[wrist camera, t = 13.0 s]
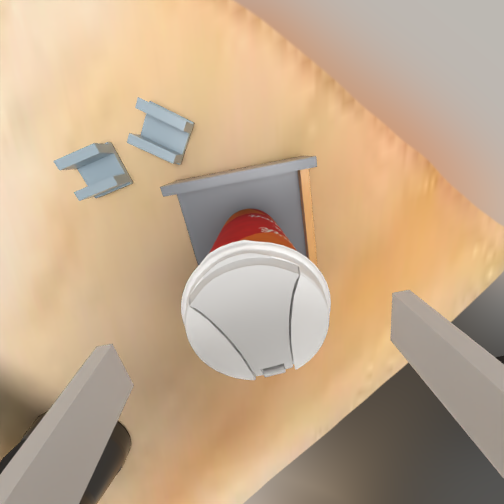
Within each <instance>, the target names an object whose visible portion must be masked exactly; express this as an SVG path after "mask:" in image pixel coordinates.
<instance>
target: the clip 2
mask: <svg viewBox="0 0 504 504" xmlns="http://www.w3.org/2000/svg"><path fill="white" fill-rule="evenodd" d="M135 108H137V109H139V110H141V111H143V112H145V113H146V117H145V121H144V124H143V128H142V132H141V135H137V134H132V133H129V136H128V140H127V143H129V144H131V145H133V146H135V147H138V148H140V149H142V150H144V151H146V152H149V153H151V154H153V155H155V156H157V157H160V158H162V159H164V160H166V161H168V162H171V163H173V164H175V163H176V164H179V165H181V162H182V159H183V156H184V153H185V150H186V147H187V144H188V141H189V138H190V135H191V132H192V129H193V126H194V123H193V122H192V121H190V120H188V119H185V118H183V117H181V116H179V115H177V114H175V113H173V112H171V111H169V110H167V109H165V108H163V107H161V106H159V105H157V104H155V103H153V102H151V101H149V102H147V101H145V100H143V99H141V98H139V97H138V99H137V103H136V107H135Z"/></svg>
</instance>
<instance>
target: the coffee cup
mask: <svg viewBox="0 0 504 504" xmlns="http://www.w3.org/2000/svg"><path fill="white" fill-rule="evenodd" d="M330 306H331V300H330V292H329V289H328V285H327V282H326V280H325V279H324V277H323V275H322V273H321V272H320V270H319V269H318V268H317V267H316V265H315V264H314V263H313V262H311V261H310V260H309V259H308V258H307V257H306V256H304V255H302V254H301V253H299V252H298V251H297V250H296V249H295V247H294V246H293V245H292V243H291V242H290V241H289V239H288V238H287V236H286V235H285V234H284V233H283V231H282V230H281V229H280V227H279V226H278V225H277V223H276V222H275V221H274V220H273V219H272V218H271V217H270V216H269V215H268V214H267V213H265V212H263V211H261V210H258V209H244V210H240V211H238V212H236V213H235V214H233V215H232V216H231V217H230V218H229V219H228V220H227V222H226V223H225V225H224V226H223V228H222V230H221V232H220V234H219V235H218V237H217V239H216V241H215V243H214V245H213V247H212V249H211V251H210V253H209V254H208V255H207V256H206V257H205V259H204V260H203V261H202V262H201V263H200V265H199V266H198V267H197V268H196V269H195V270H194V272H193V273H192V274H191V276H190V278H189V279H188V281H187V283H186V286H185V288H184V291H183V295H182V301H181V314H182V318H183V323H184V325H185V329H186V334H187V338H188V340H189V342H190V345H191V347H192V348H193V350H194V351H195V353H196V354H197V355H198V356H199V358H200V359H201V360H202V361H203V362H205V363H206V364H207V365H208V366H209V367H211V368H213V369H214V370H216V371H218V372H220V373H222V374H225V375H227V376H231V377H234V378H238V379H245V380H255V379H256V376H260V375H264V377H269V376H272V375H276V374H280V373H284V372H286V371H285V369H288V368H292V367H293V364H294V365H295V369H298V368H300V367H301V366H303V365H304V364H305V363H307V362H308V361H309V360H310V359H311V358H312V357H313V356H314V355H315V354H316V353H317V352H318V350H319V349H320V347H321V346H322V344H323V342H324V339H325V337H326V335H327V331H328V327H329V314H330Z"/></svg>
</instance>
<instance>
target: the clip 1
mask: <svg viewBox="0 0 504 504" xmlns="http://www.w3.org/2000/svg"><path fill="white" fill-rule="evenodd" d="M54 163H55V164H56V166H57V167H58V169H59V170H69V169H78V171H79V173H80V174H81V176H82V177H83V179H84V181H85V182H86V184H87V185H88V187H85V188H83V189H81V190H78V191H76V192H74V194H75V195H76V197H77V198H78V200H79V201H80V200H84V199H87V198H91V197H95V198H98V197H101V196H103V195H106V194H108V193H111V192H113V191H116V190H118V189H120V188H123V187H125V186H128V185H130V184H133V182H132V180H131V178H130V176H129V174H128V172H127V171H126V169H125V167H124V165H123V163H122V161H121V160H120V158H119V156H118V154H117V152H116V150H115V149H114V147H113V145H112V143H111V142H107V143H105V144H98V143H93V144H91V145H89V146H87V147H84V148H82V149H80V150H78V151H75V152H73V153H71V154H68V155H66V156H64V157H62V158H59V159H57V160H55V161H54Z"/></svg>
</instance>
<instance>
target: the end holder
mask: <svg viewBox="0 0 504 504" xmlns="http://www.w3.org/2000/svg"><path fill="white" fill-rule="evenodd" d="M313 167H317V161H316V156H300V157H295V158H290V159H284V160H279V161H274V162H269V163H264V164H259V165H254V166H249V167H244V168H239V169H234V170H229V171H224V172H219V173H214V174H209V175H203V176H198V177H193V178H188V179H183V180H178V181H174V182H172V183H169V184H167V185H164V186H162V187H160V188H161V191H162V194H163V197H164V196H169V195H175V194H177V196H178V200H179V203H180V206H181V210H182V213H183V216H184V220H185V223H186V226H187V230H188V233H189V236H190V240H191V243H192V246H193V250H194V253H195V256H196V260H197V263H198V266H199V265H200V263H201V262H202V261H203V260H204V259H205V257H206V256H207V255H208V254H209V253H210V251H211V249H212V247H213V245H214V243H215V241H216V239H217V237H218V235H219V234H220V232H221V230H222V228H223V226H224V225H225V223H226V222H227V220H228V219H229V218H230V217H231V216H232V215H233V214H235V213H236V212H238V211H240V210H244V209H258V210H261V211H263V212H265V213H267V214H268V215H269V216H270V217H271V218H272V219H273V220H274V221H275V222H276V223H277V225H278V226H279V227H280V229H281V230H282V231H283V233H284V234H285V235H286V236H287V238H288V239H289V241H290V242H291V243H292V245H293V246H294V247H295V249H296V250H297V251H298V252H299V253H301V254H302V255H304V256H306V257H307V258H308V259H309V260H310V261H311V262H313V263H314V264H315V265H316V267H317V256H316V245H315V234H314V223H313V211H312V200H311V189H310V178H309V168H313Z"/></svg>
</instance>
